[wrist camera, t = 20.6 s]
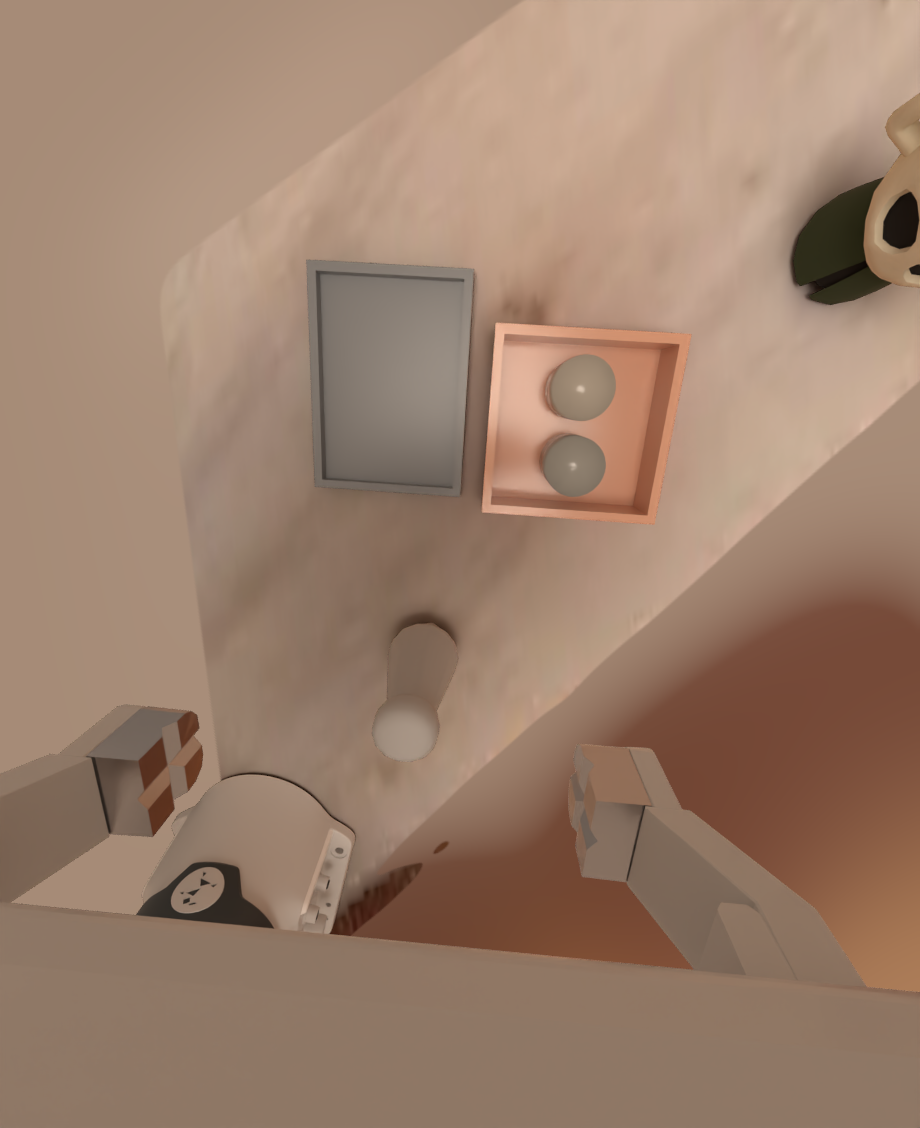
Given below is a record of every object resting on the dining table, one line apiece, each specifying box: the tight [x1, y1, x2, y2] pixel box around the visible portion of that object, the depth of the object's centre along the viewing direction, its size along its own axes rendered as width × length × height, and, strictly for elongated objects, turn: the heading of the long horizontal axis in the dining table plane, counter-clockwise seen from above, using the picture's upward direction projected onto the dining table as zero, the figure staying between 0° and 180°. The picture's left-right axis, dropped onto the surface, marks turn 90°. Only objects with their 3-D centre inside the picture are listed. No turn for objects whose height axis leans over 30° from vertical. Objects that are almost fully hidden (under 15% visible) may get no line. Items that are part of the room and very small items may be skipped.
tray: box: [306, 260, 474, 497], centre depth 35 cm, size 15×11×1 cm
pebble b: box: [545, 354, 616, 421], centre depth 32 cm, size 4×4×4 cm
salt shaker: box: [372, 622, 458, 762], centre depth 36 cm, size 6×6×13 cm
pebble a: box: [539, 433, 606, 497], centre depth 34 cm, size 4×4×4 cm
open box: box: [482, 323, 691, 524], centre depth 34 cm, size 12×12×4 cm
